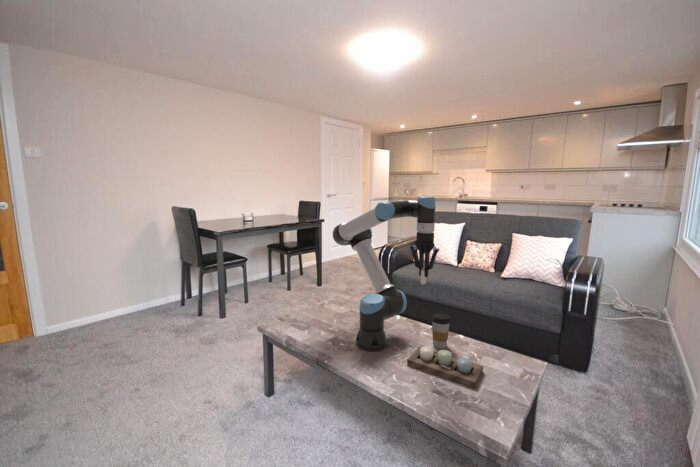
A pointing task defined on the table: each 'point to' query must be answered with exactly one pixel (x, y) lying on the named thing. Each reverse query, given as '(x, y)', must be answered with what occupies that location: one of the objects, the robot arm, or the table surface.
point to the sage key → (444, 357)
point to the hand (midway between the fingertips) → (423, 283)
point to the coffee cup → (440, 329)
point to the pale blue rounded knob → (464, 366)
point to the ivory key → (426, 354)
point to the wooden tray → (446, 369)
